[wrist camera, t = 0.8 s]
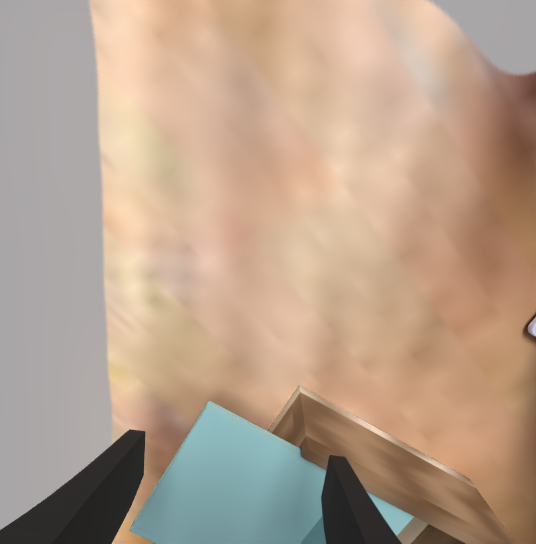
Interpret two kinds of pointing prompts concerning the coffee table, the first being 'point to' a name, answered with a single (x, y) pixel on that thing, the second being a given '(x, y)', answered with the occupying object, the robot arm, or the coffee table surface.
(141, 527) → the lid
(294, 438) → the box
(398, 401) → the coffee table surface
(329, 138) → the coffee table surface
